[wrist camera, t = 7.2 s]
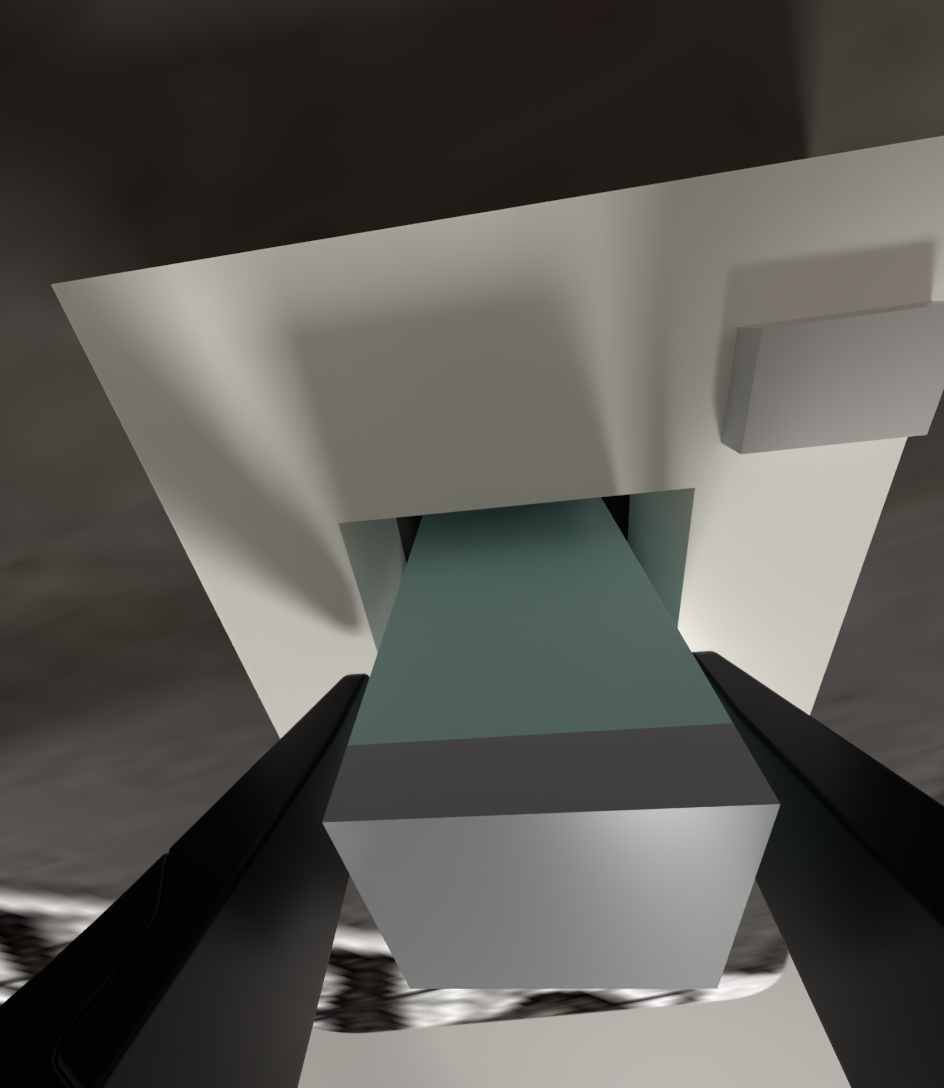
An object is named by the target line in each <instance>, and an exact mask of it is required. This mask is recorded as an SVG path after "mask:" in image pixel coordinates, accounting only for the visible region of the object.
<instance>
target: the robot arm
mask: <svg viewBox="0 0 944 1088" xmlns="http://www.w3.org/2000/svg"><path fill="white" fill-rule="evenodd" d="M692 654H693V655H694V657H695V659H696V661H697V662H698V664H699V666H700V667H701V669H702V671H703V673H704V674H705V676H706V678H707V679H708V681H709V683H710V684H711V686H712V688H713V690H714V691H715V693H716V695H717V696H718V698H719V700H720V702H721V703H722V705H723V707H724V708H725V710H726V712H727V714H728V715H729V717H730V719H731V720H732V722H733V724H734V726H735V727H736V729H737V731H738V732H739V734H740V736H741V737H742V739H743V741H744V743H745V744H746V746H747V748H748V749H749V751H750V753H751V755H752V756H753V758H754V760H755V761H756V763H757V765H758V767H759V768H760V770H761V772H762V773H763V775H764V777H765V778H766V780H767V782H768V784H769V785H770V787H771V789H772V790H773V792H774V794H775V796H776V797H777V799H778V801H779V802H780V807H779V810H778V813H777V816H776V819H775V822H774V824H773V827H772V830H771V833H770V836H769V839H768V842H767V845H766V848H765V851H764V854H763V856H762V859H761V862H760V865H759V868H758V871H757V874H756V877H755V879H756V882H757V884H758V886H759V888H760V890H761V892H762V895H763V897H764V899H765V901H766V903H767V905H768V908H769V910H770V912H771V914H772V916H773V919H774V921H775V923H776V925H777V927H778V929H779V932H780V934H781V936H782V938H783V940H784V942H785V945H786V947H787V949H788V951H789V953H790V955H791V958H792V960H793V962H794V964H795V966H796V969H797V971H798V973H799V975H800V977H801V979H802V982H803V984H804V986H805V988H806V990H807V993H808V995H809V997H810V999H811V1001H812V1003H813V1006H814V1007H815V1010H816V1012H817V1014H818V1016H819V1018H820V1021H821V1023H822V1025H823V1027H824V1029H825V1032H826V1034H827V1036H828V1038H829V1040H830V1042H831V1045H832V1047H833V1049H834V1051H835V1053H836V1056H837V1058H838V1060H839V1062H840V1064H841V1066H842V1069H843V1071H844V1073H845V1075H846V1077H847V1080H848V1082H849V1084H850V1086H851V1088H944V806H943V805H942V804H940V803H939V802H937V801H936V800H934V799H933V798H931V797H930V796H928V795H927V794H925V793H924V792H922V791H921V790H919V789H918V788H916V787H915V786H913V785H912V784H910V783H909V782H907V781H906V780H905V779H903V778H902V777H900V776H899V775H897V774H896V773H894V772H893V771H891V770H890V769H888V768H887V767H885V766H884V765H882V764H881V763H879V762H878V761H876V760H875V759H873V758H872V757H870V756H869V755H867V754H866V753H865V752H863V751H862V750H860V749H859V748H857V747H856V746H854V745H853V744H851V743H850V742H848V741H847V740H845V739H844V738H842V737H841V736H839V735H838V734H836V733H835V732H833V731H832V730H830V729H829V728H828V727H826V726H825V725H823V724H822V723H820V722H819V721H817V720H816V719H814V718H813V717H811V716H810V715H808V714H807V713H805V712H804V711H802V710H801V709H799V708H798V707H796V706H795V705H793V704H792V703H791V702H789V701H788V700H786V699H785V698H783V697H782V696H780V695H779V694H777V693H776V692H774V691H773V690H771V689H770V688H768V687H767V686H765V685H764V684H762V683H761V682H759V681H758V680H756V679H755V678H753V677H752V676H751V675H749V674H748V673H746V672H745V671H743V670H742V669H740V668H739V667H737V666H736V665H734V664H733V663H731V662H730V661H728V660H727V659H725V658H724V657H722V656H721V655H719V654H718V653H716V652H714V651H698V652H692ZM369 678H370V677H369V676H368V675H367V674H365V673H361V674H348V675H345V676H344V677H343V678H341V679H340V680H339V681H338V682H337V683H336V684H335V685H334V686H333V687H332V688H331V689H330V690H329V691H328V692H327V693H326V694H325V695H324V696H323V697H322V698H321V699H320V700H319V701H318V702H317V703H316V704H315V705H314V706H313V707H312V708H311V709H310V710H309V711H308V712H307V713H306V714H305V715H304V716H303V717H302V718H301V719H300V720H299V721H298V722H297V723H296V724H295V725H294V726H293V727H292V728H291V729H290V730H289V731H288V732H287V733H286V734H285V735H284V736H283V737H282V738H281V739H280V740H279V741H278V742H277V743H276V744H275V745H274V746H273V747H272V748H271V749H270V750H269V751H268V752H267V753H266V754H265V755H264V756H263V757H262V758H261V759H260V760H259V761H258V762H257V763H256V764H255V765H254V766H252V767H251V768H250V769H249V770H248V771H247V772H246V773H245V774H244V775H243V776H242V777H241V778H240V779H239V780H238V781H237V782H236V783H235V784H234V785H233V786H232V787H231V788H230V789H229V790H228V791H227V792H226V793H225V794H224V795H223V796H222V797H221V798H220V799H219V800H218V801H217V802H216V803H215V804H214V805H213V806H212V807H211V808H210V809H209V810H208V811H207V812H206V813H205V814H204V815H203V816H202V817H201V818H200V819H199V820H198V821H197V822H196V823H195V824H194V825H193V826H192V827H191V828H190V829H189V830H188V831H187V832H186V833H185V834H184V835H183V836H182V837H181V838H180V839H179V840H178V841H177V842H176V843H175V844H174V845H173V846H172V847H171V848H170V849H169V853H166V854H163V855H162V856H161V857H160V858H159V859H158V860H157V861H156V862H155V863H154V864H153V865H152V866H151V867H150V868H149V869H148V870H147V871H146V872H145V873H144V874H143V875H142V876H141V877H140V878H139V879H138V880H137V881H136V882H135V883H134V884H133V885H132V886H131V887H130V888H129V889H128V890H127V891H126V892H124V893H123V894H122V895H121V896H120V897H119V898H118V899H117V900H116V901H115V902H114V903H113V904H112V905H111V906H110V907H109V908H108V909H107V910H106V911H105V912H104V913H103V914H102V915H101V916H99V917H98V918H97V919H96V920H95V921H94V922H93V923H92V924H91V925H90V926H89V927H88V928H87V929H85V930H84V931H83V932H82V933H81V934H80V935H79V936H78V937H77V938H76V939H74V940H73V941H72V942H71V943H70V944H69V945H68V946H67V947H66V948H65V949H63V950H62V951H61V952H60V953H59V954H58V955H57V956H56V957H55V958H54V959H52V960H51V961H50V962H49V963H48V964H47V965H46V966H45V967H44V968H43V969H41V970H40V971H39V972H38V973H37V974H36V975H35V976H34V977H32V978H31V979H30V980H29V981H28V982H27V983H26V984H25V985H23V986H22V987H21V988H20V989H19V990H18V991H17V992H16V993H14V994H13V995H12V996H11V997H10V998H9V999H8V1000H7V1001H5V1002H4V1003H3V1004H2V1005H1V1006H0V1088H298V1083H299V1079H300V1075H301V1071H302V1067H303V1063H304V1059H305V1055H306V1051H307V1047H308V1043H309V1039H310V1035H311V1030H312V1026H313V1022H314V1018H315V1014H316V1010H317V1006H318V1002H319V998H320V994H321V990H322V986H323V982H324V977H325V973H326V969H327V965H328V961H329V957H330V953H331V949H332V945H333V941H334V937H335V932H336V928H337V924H338V920H339V916H340V912H341V908H342V904H343V900H344V896H345V892H346V887H347V883H348V879H349V875H350V874H349V872H348V870H347V868H346V866H345V865H344V863H343V861H342V859H341V857H340V855H339V853H338V851H337V849H336V848H335V846H334V844H333V842H332V840H331V838H330V836H329V834H328V833H327V831H326V829H325V827H324V825H323V823H322V821H323V818H324V815H325V812H326V809H327V806H328V803H329V800H330V797H331V794H332V791H333V788H334V785H335V782H336V779H337V776H338V773H339V769H340V766H341V763H342V760H343V757H344V754H345V751H346V748H347V745H348V742H349V739H350V736H351V733H352V730H353V727H354V724H355V721H356V718H357V715H358V712H359V708H360V705H361V702H362V699H363V696H364V693H365V690H366V687H367V684H368V681H369Z"/></svg>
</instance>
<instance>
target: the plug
mask: <svg viewBox="0 0 944 1088" xmlns="http://www.w3.org/2000/svg"><path fill="white" fill-rule="evenodd" d="M779 807H780V802H779V801H778V799H777V797H776V796H775V794H774V792H773V790H772V789H771V787H770V785H769V784H768V782H767V780H766V778H765V777H764V775H763V773H762V772H761V770H760V768H759V767H758V765H757V763H756V761H755V760H754V758H753V756H752V755H751V753H750V751H749V749H748V748H747V746H746V744H745V743H744V741H743V739H742V737H741V736H740V734H739V732H738V731H737V729H736V727H735V726H734V724H733V722H732V720H731V719H730V717H729V715H728V714H727V712H726V710H725V708H724V707H723V705H722V703H721V702H720V700H719V698H718V696H717V695H716V693H715V691H714V690H713V688H712V686H711V684H710V683H709V681H708V679H707V678H706V676H705V674H704V673H703V671H702V669H701V667H700V666H699V664H698V662H697V661H696V659H695V657H694V655H693V654H692V652H691V650H690V649H689V647H688V645H687V643H686V642H685V640H684V638H683V637H682V635H681V633H680V632H679V630H678V628H677V626H676V625H675V623H674V621H673V620H672V618H671V616H670V614H669V613H668V611H667V609H666V608H665V606H664V604H663V602H662V601H661V599H660V597H659V596H658V594H657V592H656V591H655V589H654V587H653V585H652V584H651V582H650V580H649V579H648V577H647V575H646V573H645V572H644V570H643V568H642V567H641V565H640V563H639V561H638V560H637V558H636V556H635V555H634V553H633V551H632V550H631V548H630V546H629V544H628V543H627V541H626V539H625V538H624V536H623V534H622V532H621V531H620V529H619V527H618V526H617V524H616V522H615V520H614V519H613V517H612V515H611V514H610V512H609V510H608V508H607V507H606V505H605V503H604V502H603V500H602V498H601V497H597V498H587V499H577V500H567V501H557V502H547V503H537V504H527V505H517V506H507V507H497V508H487V509H477V510H467V511H457V512H447V513H437V514H427V515H423V516H422V519H421V522H420V525H419V528H418V531H417V534H416V538H415V541H414V544H413V547H412V550H411V553H410V556H409V559H408V562H407V565H406V568H405V571H404V574H403V577H402V580H401V583H400V586H399V589H398V592H397V596H396V599H395V602H394V605H393V608H392V611H391V614H390V617H389V620H388V623H387V626H386V629H385V632H384V635H383V638H382V641H381V644H380V647H379V650H378V654H377V657H376V660H375V663H374V666H373V669H372V672H371V675H370V678H369V681H368V684H367V687H366V690H365V693H364V696H363V699H362V702H361V705H360V708H359V712H358V715H357V718H356V721H355V724H354V727H353V730H352V733H351V736H350V739H349V742H348V745H347V748H346V751H345V754H344V757H343V760H342V763H341V766H340V769H339V773H338V776H337V779H336V782H335V785H334V788H333V791H332V794H331V797H330V800H329V803H328V806H327V809H326V812H325V815H324V818H323V821H322V823H323V825H324V827H325V829H326V831H327V833H328V834H329V836H330V838H331V840H332V842H333V844H334V846H335V848H336V849H337V851H338V853H339V855H340V857H341V859H342V861H343V863H344V865H345V866H346V868H347V870H348V872H349V874H350V876H351V878H352V880H353V881H354V883H355V885H356V887H357V889H358V891H359V893H360V895H361V897H362V898H363V900H364V902H365V904H366V906H367V908H368V910H369V912H370V913H371V915H372V917H373V919H374V921H375V923H376V925H377V927H378V929H379V930H380V932H381V934H382V936H383V938H384V940H385V942H386V944H387V945H388V947H389V949H390V951H391V953H392V955H393V957H394V959H395V961H396V962H397V964H398V966H399V968H400V970H401V972H402V974H403V976H404V977H405V979H406V981H407V983H408V985H409V987H410V989H596V988H718V985H719V982H720V979H721V976H722V973H723V970H724V967H725V964H726V961H727V958H728V956H729V953H730V950H731V947H732V944H733V941H734V938H735V935H736V932H737V929H738V926H739V923H740V921H741V918H742V915H743V912H744V909H745V906H746V903H747V900H748V897H749V894H750V891H751V889H752V886H753V883H754V880H755V877H756V874H757V871H758V868H759V865H760V862H761V859H762V856H763V854H764V851H765V848H766V845H767V842H768V839H769V836H770V833H771V830H772V827H773V824H774V822H775V819H776V816H777V813H778V810H779Z"/></svg>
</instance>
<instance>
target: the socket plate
mask: <svg viewBox="0 0 944 1088" xmlns="http://www.w3.org/2000/svg"><path fill="white" fill-rule="evenodd" d="M51 286H52V288H53V290H54V292H55V294H56V296H57V298H58V300H59V302H60V304H61V305H62V307H63V309H64V311H65V313H66V315H67V317H68V319H69V321H70V323H71V325H72V327H73V329H74V331H75V333H76V335H77V337H78V339H79V341H80V343H81V345H82V347H83V349H84V351H85V353H86V355H87V357H88V359H89V361H90V363H91V365H92V367H93V369H94V371H95V373H96V375H97V377H98V379H99V381H100V383H101V385H102V387H103V389H104V391H105V393H106V395H107V397H108V399H109V400H110V402H111V404H112V406H113V408H114V410H115V412H116V414H117V416H118V418H119V420H120V422H121V424H122V426H123V428H124V430H125V432H126V434H127V436H128V438H129V440H130V442H131V444H132V446H133V448H134V450H135V452H136V454H137V456H138V458H139V460H140V462H141V464H142V466H143V468H144V470H145V472H146V474H147V476H148V478H149V480H150V482H151V484H152V486H153V488H154V490H155V492H156V494H157V496H158V497H159V499H160V501H161V503H162V505H163V507H164V509H165V511H166V513H167V515H168V517H169V519H170V521H171V523H172V525H173V527H174V529H175V531H176V533H177V535H178V537H179V539H180V541H181V543H182V545H183V547H184V549H185V551H186V553H187V555H188V557H189V559H190V561H191V563H192V565H193V567H194V569H195V571H196V573H197V575H198V577H199V579H200V581H201V583H202V585H203V587H204V589H205V591H206V592H207V594H208V596H209V598H210V600H211V602H212V604H213V606H214V608H215V610H216V612H217V614H218V616H219V618H220V620H221V622H222V624H223V626H224V628H225V630H226V632H227V634H228V636H229V638H230V640H231V642H232V644H233V646H234V648H235V650H236V652H237V654H238V656H239V658H240V660H241V662H242V664H243V666H244V668H245V670H246V672H247V674H248V676H249V678H250V680H251V682H252V684H253V686H254V688H255V689H256V691H257V693H258V695H259V697H260V699H261V701H262V703H263V705H264V707H265V709H266V711H267V713H268V715H269V717H270V719H271V721H272V723H273V725H274V727H275V729H276V731H277V733H278V735H279V737H280V739H281V738H282V737H283V736H284V735H285V734H286V733H287V732H288V731H289V730H290V729H291V728H292V727H293V726H294V725H295V724H296V723H297V722H298V721H299V720H300V719H301V718H302V717H303V716H304V715H305V714H306V713H307V712H308V711H309V710H310V709H311V708H312V707H313V706H314V705H315V704H316V703H317V702H318V701H319V700H320V699H321V698H322V697H323V696H324V695H325V694H326V693H327V692H328V691H329V690H330V689H331V688H332V687H333V686H334V685H335V684H336V683H337V682H338V681H339V680H340V679H341V678H343V677H344V676H345V675H348V674H361V673H365V674H367V675H368V676H369V677H370V675H371V672H372V669H373V666H374V663H375V660H376V657H377V654H378V650H379V647H380V644H381V641H382V638H383V635H384V632H385V629H386V626H387V623H388V620H389V617H390V614H391V611H392V608H393V605H394V602H395V599H396V596H397V592H398V589H399V586H400V583H401V580H402V577H403V574H404V571H405V568H406V565H407V564H406V559H405V555H404V551H403V546H402V542H401V538H400V533H399V529H398V525H397V520H396V518H397V517H407V516H417V515H427V514H437V513H447V512H457V511H467V510H477V509H487V508H497V507H507V506H517V505H527V504H537V503H547V502H557V501H567V500H577V499H587V498H597V497H607V496H617V495H627V494H630V503H629V523H628V544H629V546H630V548H631V550H632V551H633V553H634V555H635V556H636V558H637V560H638V561H639V563H640V565H641V567H642V568H643V570H644V572H645V573H646V575H647V577H648V579H649V580H650V582H651V584H652V585H653V587H654V589H655V591H656V592H657V594H658V596H659V597H660V599H661V601H662V602H663V604H664V606H665V608H666V609H667V611H668V613H669V614H670V616H671V618H672V620H673V621H674V623H675V625H676V626H677V628H678V630H679V632H680V633H681V635H682V637H683V638H684V640H685V642H686V643H687V645H688V647H689V649H690V650H691V652H698V651H714V652H716V653H718V654H719V655H721V656H722V657H724V658H725V659H727V660H728V661H730V662H731V663H733V664H734V665H736V666H737V667H739V668H740V669H742V670H743V671H745V672H746V673H748V674H749V675H751V676H752V677H753V678H755V679H756V680H758V681H759V682H761V683H762V684H764V685H765V686H767V687H768V688H770V689H771V690H773V691H774V692H776V693H777V694H779V695H780V696H782V697H783V698H785V699H786V700H788V701H789V702H791V703H792V704H793V705H795V706H796V707H798V708H799V709H801V710H802V711H804V712H805V713H807V714H808V715H810V713H811V710H812V707H813V705H814V702H815V699H816V696H817V693H818V690H819V687H820V685H821V682H822V679H823V676H824V673H825V670H826V668H827V665H828V662H829V659H830V656H831V653H832V650H833V648H834V645H835V642H836V639H837V636H838V633H839V631H840V628H841V625H842V622H843V619H844V616H845V613H846V611H847V608H848V605H849V602H850V599H851V596H852V594H853V591H854V588H855V585H856V582H857V579H858V577H859V574H860V571H861V568H862V565H863V562H864V559H865V557H866V554H867V551H868V548H869V545H870V542H871V540H872V537H873V534H874V531H875V528H876V525H877V522H878V520H879V517H880V514H881V511H882V508H883V505H884V503H885V500H886V497H887V494H888V491H889V488H890V485H891V483H892V480H893V477H894V474H895V471H896V468H897V466H898V463H899V460H900V457H901V454H902V451H903V448H904V446H905V443H906V440H907V437H910V436H919V435H927V433H928V430H929V427H930V424H931V422H932V419H933V416H934V414H935V411H936V408H937V406H938V403H939V400H940V398H941V395H942V392H943V389H944V136H940V137H934V138H928V139H922V140H916V141H910V142H904V143H898V144H892V145H886V146H880V147H874V148H868V149H862V150H856V151H850V152H844V153H838V154H832V155H826V156H820V157H814V158H808V159H802V160H796V161H790V162H784V163H778V164H772V165H766V166H760V167H754V168H747V169H741V170H735V171H729V172H723V173H717V174H711V175H705V176H699V177H693V178H687V179H681V180H675V181H669V182H663V183H657V184H651V185H645V186H639V187H633V188H627V189H621V190H615V191H609V192H603V193H597V194H591V195H585V196H579V197H573V198H567V199H561V200H555V201H549V202H543V203H537V204H531V205H525V206H519V207H513V208H507V209H501V210H495V211H489V212H483V213H477V214H471V215H465V216H459V217H453V218H447V219H441V220H435V221H429V222H423V223H417V224H411V225H405V226H399V227H393V228H387V229H381V230H375V231H369V232H363V233H357V234H351V235H345V236H339V237H333V238H327V239H321V240H315V241H309V242H303V243H297V244H291V245H285V246H279V247H273V248H267V249H261V250H255V251H249V252H243V253H237V254H231V255H225V256H219V257H213V258H207V259H201V260H195V261H189V262H183V263H177V264H171V265H165V266H159V267H153V268H147V269H141V270H135V271H129V272H123V273H117V274H111V275H105V276H99V277H93V278H87V279H81V280H75V281H69V282H63V283H57V284H51Z"/></svg>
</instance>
